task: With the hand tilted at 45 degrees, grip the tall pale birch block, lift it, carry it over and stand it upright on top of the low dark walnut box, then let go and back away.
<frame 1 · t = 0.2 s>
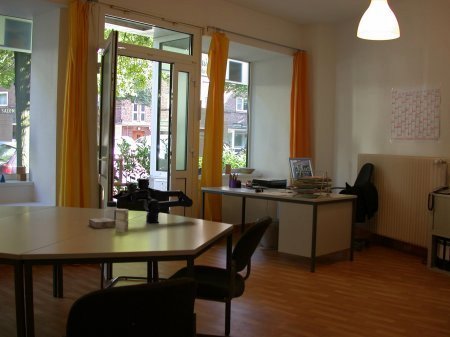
hand: (114, 197, 284), 17 cm above the table, tool horizontal, fingers open, 9 cm apart
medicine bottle: (111, 220, 303), on the table
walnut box: (102, 226, 282), on the table
birch block: (121, 230, 269), on the table
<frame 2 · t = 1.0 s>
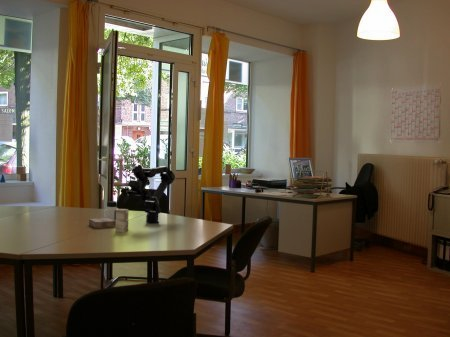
hand: (129, 204, 275), 14 cm above the table, tool tilted 45°, fingers open, 9 cm apart
nothing on the table moved.
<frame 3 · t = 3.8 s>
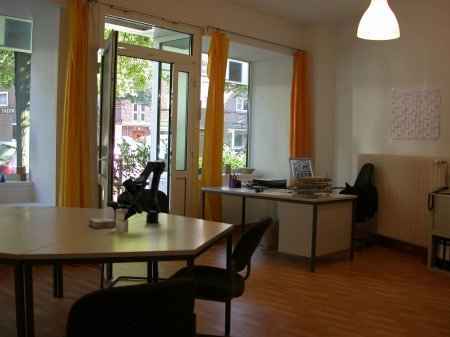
hand: (120, 219, 267), 7 cm above the table, tool tilted 45°, fingers closed on birch block, 5 cm apart
birch block: (121, 230, 269), on the table, touching gripper
everything else where it was.
when the fingers open (12 cm above the table, at t = 9.1 s): birch block drops 2 cm, resting on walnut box.
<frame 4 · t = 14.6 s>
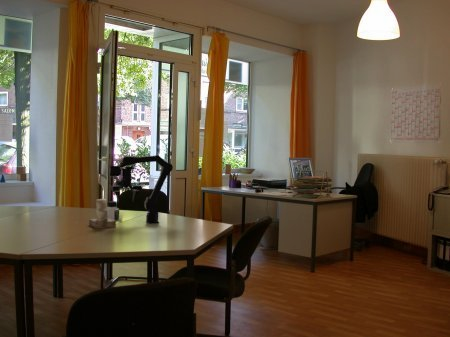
hand: (126, 202, 293), 13 cm above the table, tool pointing down, fingers open, 9 cm apart
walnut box: (102, 226, 282), on the table, touching birch block
birch block: (102, 219, 282), point 4 cm above the table, touching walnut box
everything else where it was.
at the end: birch block inside the target area on the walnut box (0.2 cm from its centre), point 4.1 cm above the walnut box's base; birch block tilted 3°; the gripper is holding nothing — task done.
